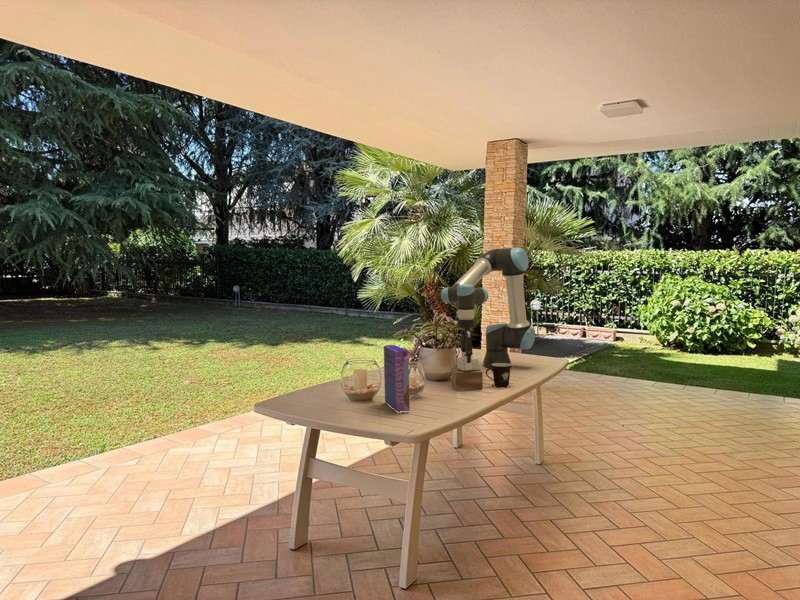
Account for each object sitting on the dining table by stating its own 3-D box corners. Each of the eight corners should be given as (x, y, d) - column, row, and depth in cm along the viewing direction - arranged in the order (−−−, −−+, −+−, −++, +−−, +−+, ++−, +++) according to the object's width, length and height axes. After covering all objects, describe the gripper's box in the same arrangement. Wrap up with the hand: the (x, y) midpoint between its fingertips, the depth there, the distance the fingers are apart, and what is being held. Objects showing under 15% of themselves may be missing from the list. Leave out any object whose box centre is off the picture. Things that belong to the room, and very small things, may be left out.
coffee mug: (510, 384, 260) (509, 363, 259) (512, 388, 251) (511, 366, 251) (484, 384, 261) (484, 363, 260) (485, 388, 252) (485, 366, 252)
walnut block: (451, 385, 260) (451, 368, 260) (477, 384, 261) (476, 367, 261) (456, 390, 248) (455, 373, 248) (482, 389, 249) (482, 372, 249)
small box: (471, 366, 259) (471, 355, 259) (478, 369, 252) (478, 358, 251) (456, 368, 257) (456, 357, 257) (463, 371, 250) (462, 359, 249)
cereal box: (409, 412, 214) (408, 350, 213) (397, 413, 213) (396, 351, 211) (396, 402, 231) (394, 344, 229) (385, 403, 229) (383, 345, 228)
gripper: (453, 316, 263) (454, 364, 265) (462, 321, 242) (462, 372, 243) (469, 316, 264) (470, 363, 265) (479, 320, 242) (479, 372, 244)
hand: (466, 367), depth 254 cm, fingers closed on small box, 9 cm apart
